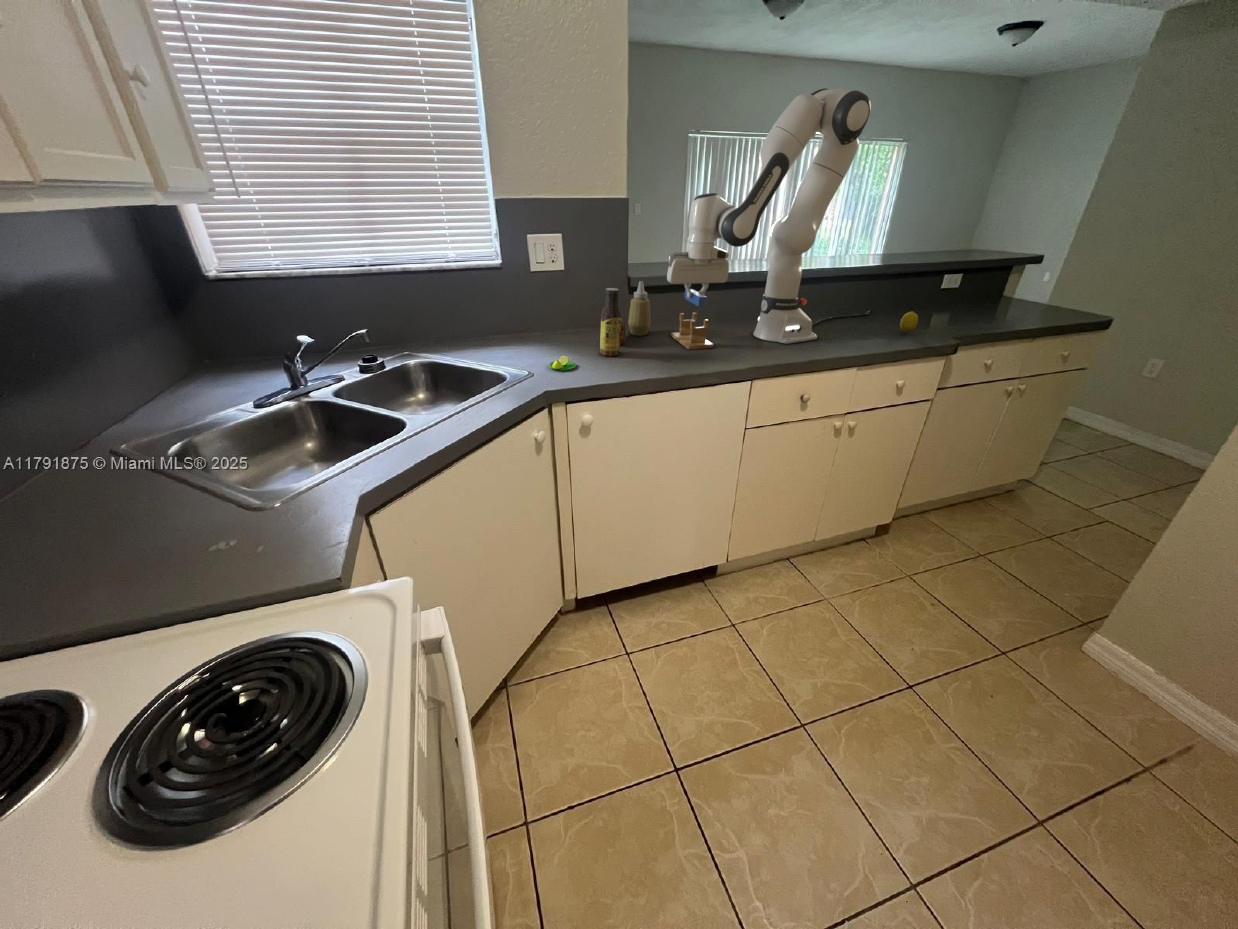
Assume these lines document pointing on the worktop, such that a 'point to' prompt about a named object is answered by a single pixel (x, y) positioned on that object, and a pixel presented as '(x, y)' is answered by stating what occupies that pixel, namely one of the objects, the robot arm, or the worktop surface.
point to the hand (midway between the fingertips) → (695, 297)
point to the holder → (692, 334)
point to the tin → (622, 332)
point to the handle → (696, 298)
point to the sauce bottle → (610, 324)
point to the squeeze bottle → (639, 312)
